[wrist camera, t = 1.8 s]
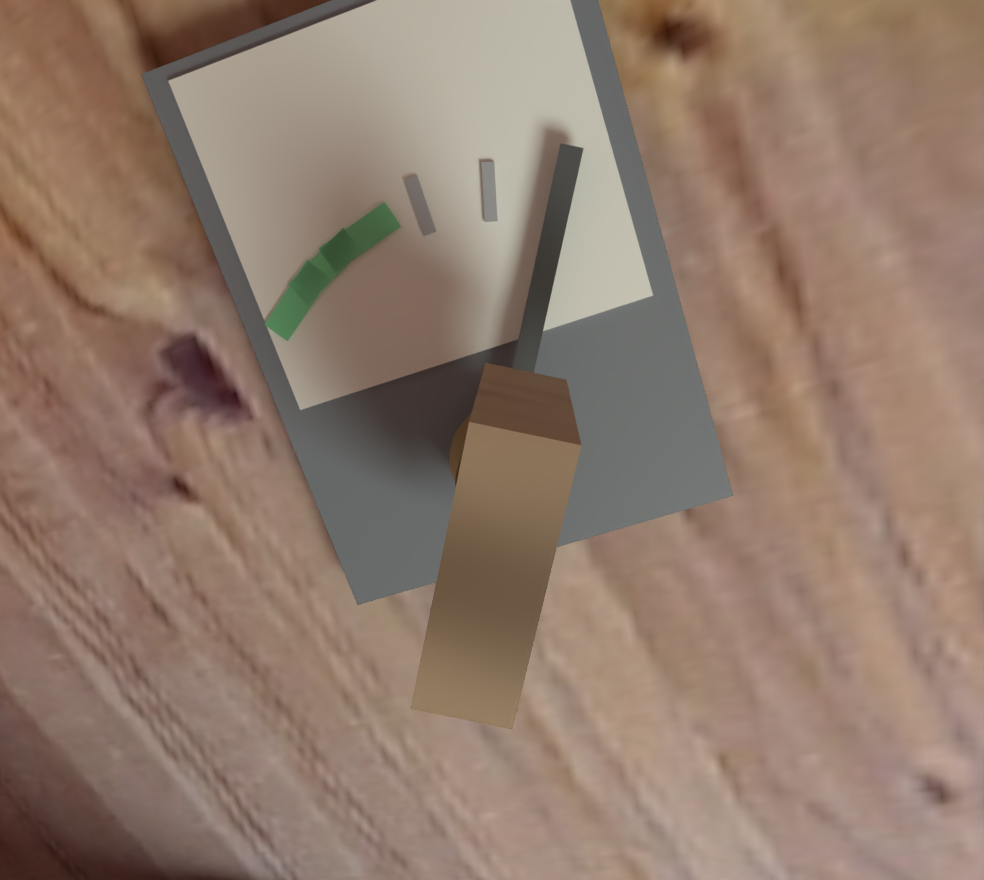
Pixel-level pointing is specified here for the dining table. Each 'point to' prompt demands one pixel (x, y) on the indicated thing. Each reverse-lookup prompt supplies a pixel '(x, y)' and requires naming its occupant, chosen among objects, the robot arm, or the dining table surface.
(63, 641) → the dining table surface
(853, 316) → the dining table surface
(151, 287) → the dining table surface
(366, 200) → the tuner board
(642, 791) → the dining table surface
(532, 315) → the wooden pointer lever
